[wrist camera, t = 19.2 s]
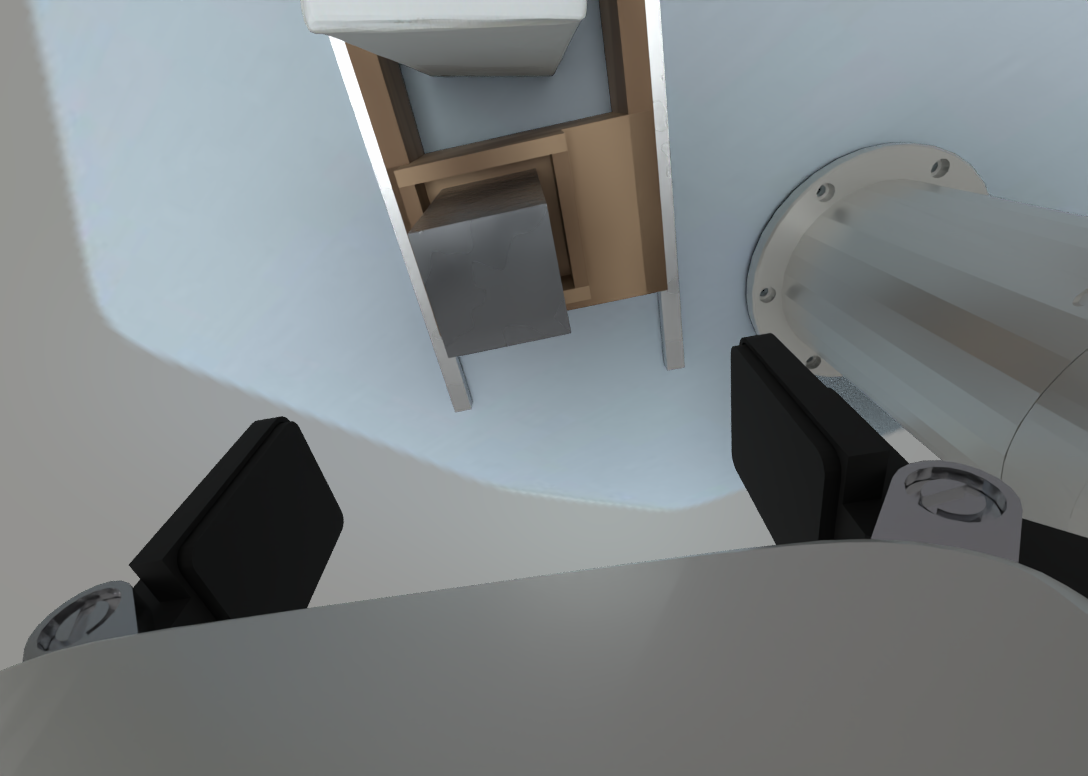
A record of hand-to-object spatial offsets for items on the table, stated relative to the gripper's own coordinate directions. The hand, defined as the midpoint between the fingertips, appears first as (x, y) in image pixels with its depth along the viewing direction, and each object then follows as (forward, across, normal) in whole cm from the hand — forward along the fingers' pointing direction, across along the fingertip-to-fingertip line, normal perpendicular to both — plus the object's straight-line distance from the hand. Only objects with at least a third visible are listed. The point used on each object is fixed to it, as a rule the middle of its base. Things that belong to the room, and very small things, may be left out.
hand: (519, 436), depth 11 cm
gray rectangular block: (+14, +1, -2) cm, 14 cm away
